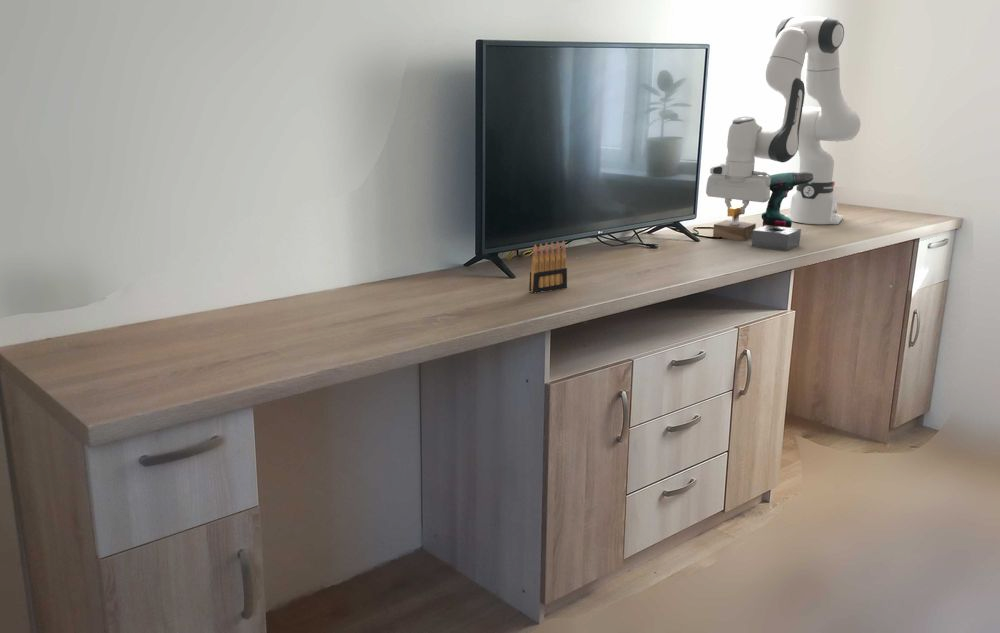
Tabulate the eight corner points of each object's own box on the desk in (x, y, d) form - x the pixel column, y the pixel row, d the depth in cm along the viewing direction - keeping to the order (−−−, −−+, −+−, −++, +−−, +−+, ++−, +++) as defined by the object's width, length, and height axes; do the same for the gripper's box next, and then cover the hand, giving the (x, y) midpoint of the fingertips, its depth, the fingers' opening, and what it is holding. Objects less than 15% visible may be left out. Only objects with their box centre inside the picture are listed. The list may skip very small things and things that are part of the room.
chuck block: (764, 240, 300) (766, 225, 298) (799, 245, 293) (801, 229, 292) (751, 246, 291) (752, 230, 290) (786, 251, 285) (788, 234, 283)
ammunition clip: (533, 293, 232) (534, 245, 229) (528, 292, 233) (529, 244, 230) (567, 287, 238) (568, 240, 235) (562, 286, 239) (563, 239, 236)
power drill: (810, 235, 309) (817, 173, 304) (759, 234, 309) (765, 172, 304) (804, 231, 316) (810, 170, 311) (754, 230, 316) (760, 169, 311)
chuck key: (735, 234, 310) (738, 205, 307) (742, 235, 308) (744, 205, 306) (725, 237, 303) (728, 208, 301) (732, 238, 302) (734, 208, 300)
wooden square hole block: (725, 232, 313) (726, 220, 311) (754, 235, 307) (755, 223, 306) (712, 236, 305) (713, 224, 304) (742, 240, 299) (743, 228, 298)
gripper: (775, 171, 297) (771, 215, 300) (713, 166, 308) (710, 208, 312) (767, 173, 292) (763, 218, 296) (705, 168, 303) (702, 211, 307)
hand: (735, 213), depth 304 cm, fingers closed on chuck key, 2 cm apart
